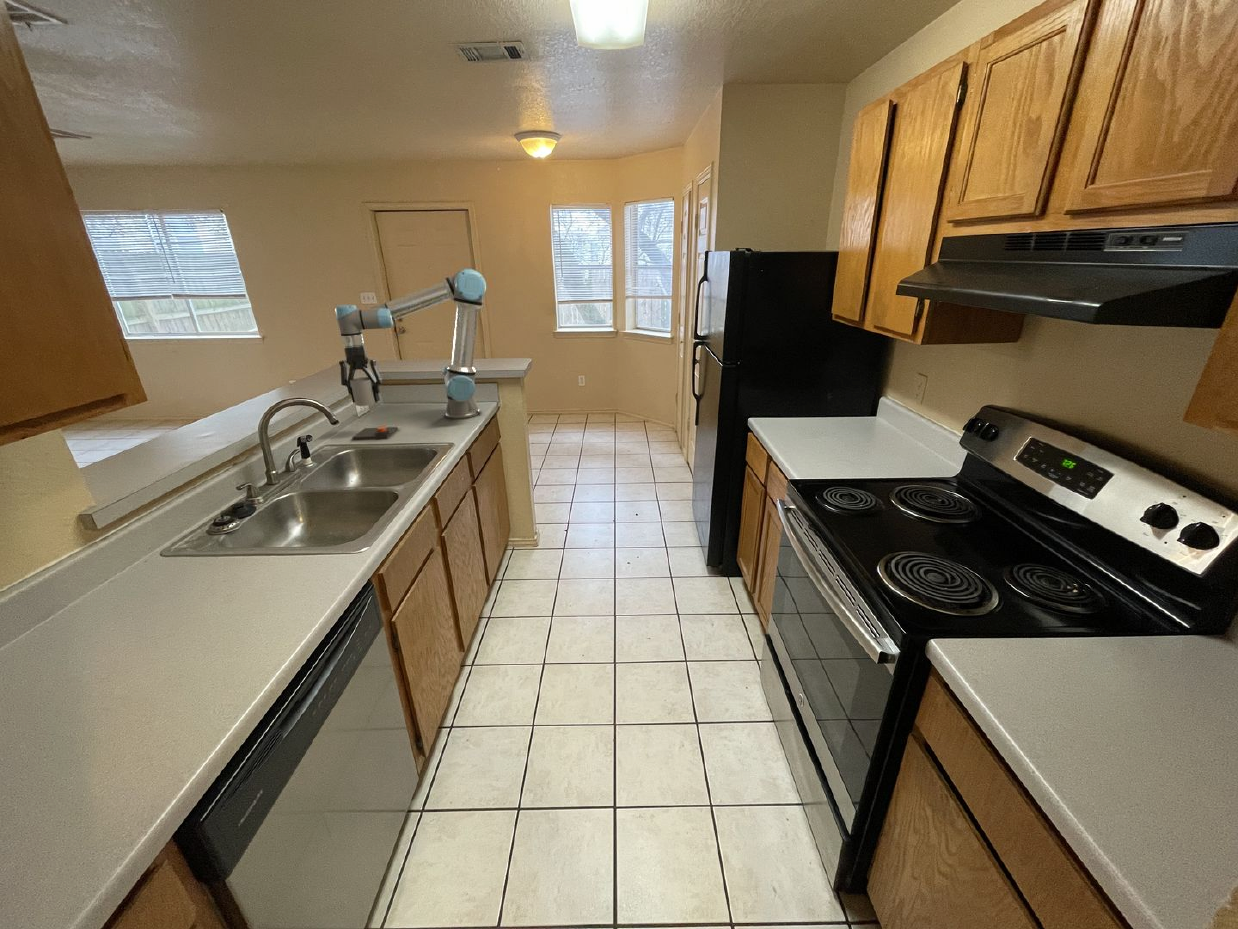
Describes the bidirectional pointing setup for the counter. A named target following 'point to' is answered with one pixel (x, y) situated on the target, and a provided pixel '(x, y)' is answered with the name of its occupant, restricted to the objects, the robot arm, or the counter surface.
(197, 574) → the counter surface
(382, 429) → the tare button
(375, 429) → the scale
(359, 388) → the cup
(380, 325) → the robot arm
